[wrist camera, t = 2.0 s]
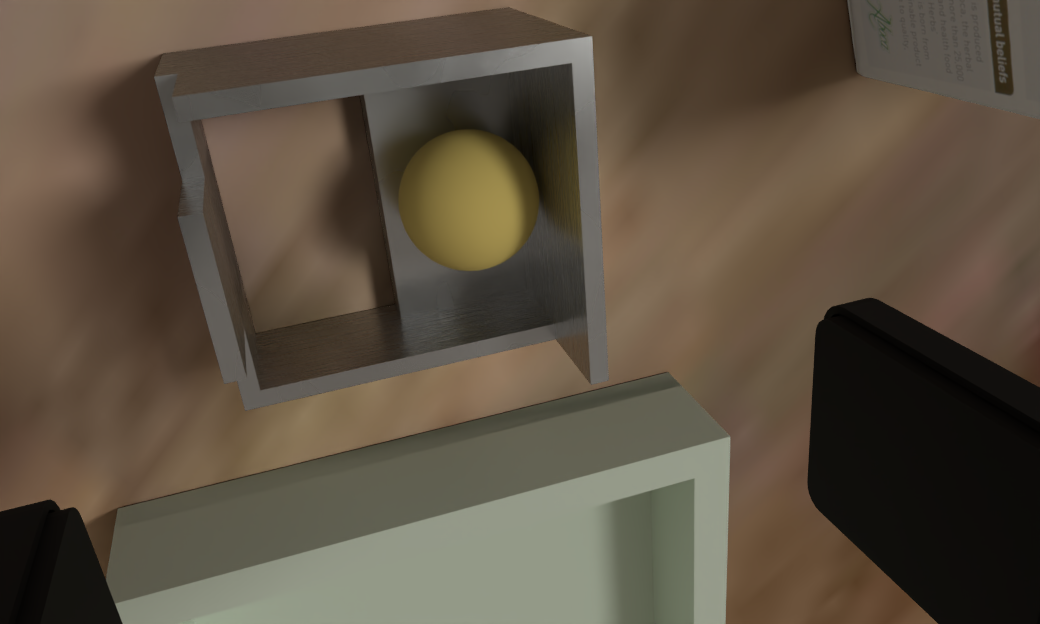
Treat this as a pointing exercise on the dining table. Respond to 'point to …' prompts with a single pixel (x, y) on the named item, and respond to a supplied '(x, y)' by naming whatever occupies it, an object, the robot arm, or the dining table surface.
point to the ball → (468, 200)
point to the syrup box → (953, 48)
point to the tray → (456, 526)
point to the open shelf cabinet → (392, 143)
